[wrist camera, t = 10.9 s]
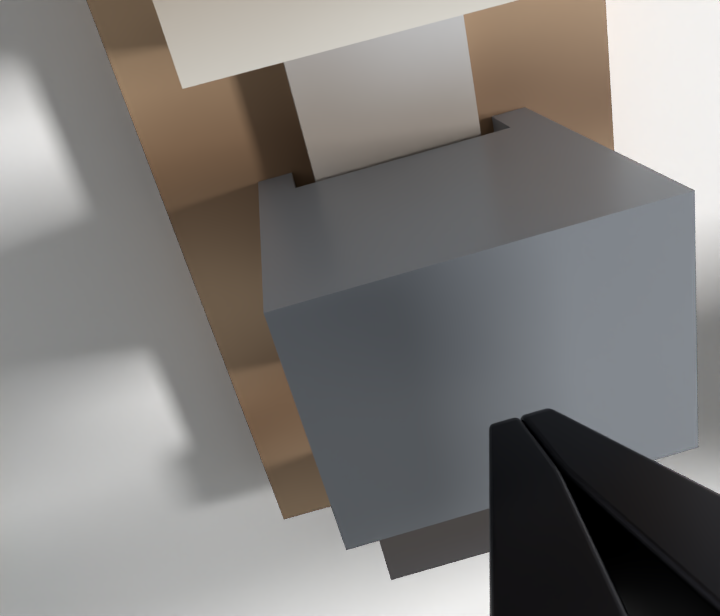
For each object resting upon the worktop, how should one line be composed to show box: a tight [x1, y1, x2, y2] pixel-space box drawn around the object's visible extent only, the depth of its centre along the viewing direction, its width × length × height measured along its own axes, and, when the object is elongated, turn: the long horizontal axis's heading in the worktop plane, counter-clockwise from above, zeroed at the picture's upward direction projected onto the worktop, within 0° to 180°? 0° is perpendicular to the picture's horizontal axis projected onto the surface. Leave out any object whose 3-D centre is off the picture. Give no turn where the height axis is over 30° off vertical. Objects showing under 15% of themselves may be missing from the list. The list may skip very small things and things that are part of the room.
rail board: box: [86, 0, 614, 580], centre depth 13 cm, size 18×10×10 cm, turn 13°
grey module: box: [258, 107, 698, 550], centre depth 13 cm, size 4×6×6 cm
